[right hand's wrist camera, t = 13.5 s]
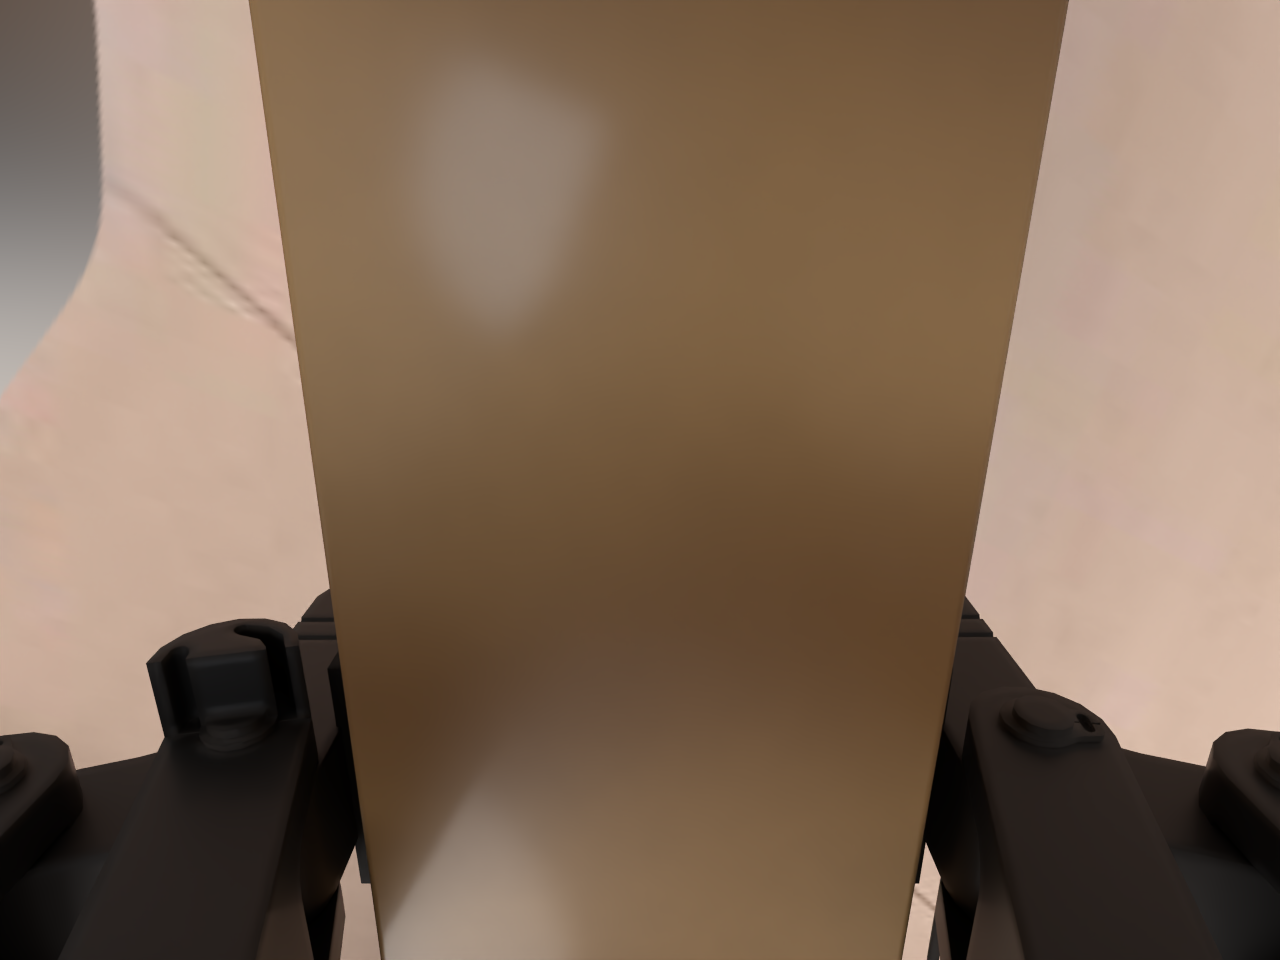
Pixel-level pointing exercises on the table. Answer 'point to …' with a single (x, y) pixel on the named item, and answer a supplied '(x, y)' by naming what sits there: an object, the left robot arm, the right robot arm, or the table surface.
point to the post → (650, 444)
